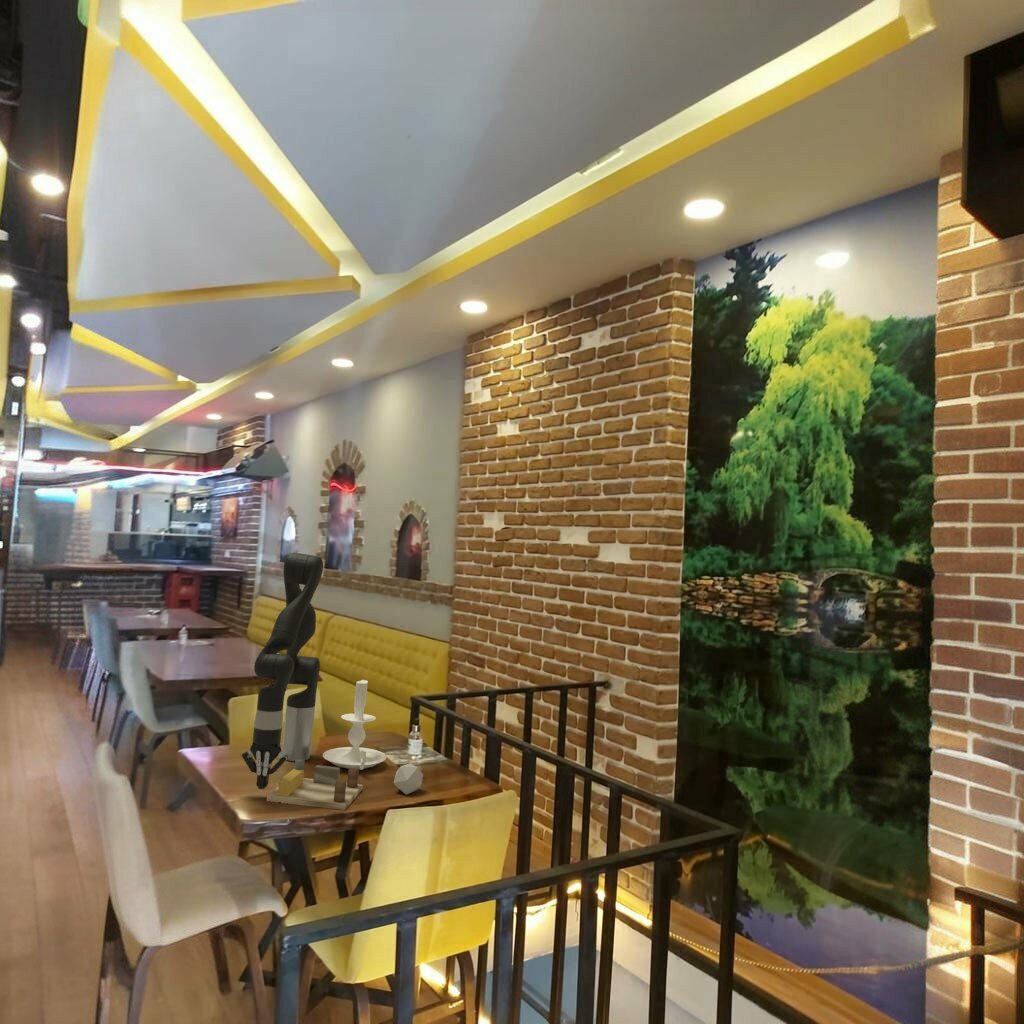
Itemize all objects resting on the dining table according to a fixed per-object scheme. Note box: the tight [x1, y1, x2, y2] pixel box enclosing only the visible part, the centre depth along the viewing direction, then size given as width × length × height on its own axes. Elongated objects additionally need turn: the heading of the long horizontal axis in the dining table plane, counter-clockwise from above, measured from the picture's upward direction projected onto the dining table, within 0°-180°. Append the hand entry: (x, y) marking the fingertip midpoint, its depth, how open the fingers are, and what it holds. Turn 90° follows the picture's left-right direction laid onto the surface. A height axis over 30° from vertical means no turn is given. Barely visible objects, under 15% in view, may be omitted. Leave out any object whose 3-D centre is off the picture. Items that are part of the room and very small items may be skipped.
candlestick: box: [322, 679, 387, 771], centre depth 246 cm, size 21×25×28 cm
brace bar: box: [277, 759, 306, 796], centre depth 215 cm, size 13×3×6 cm, turn 176°
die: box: [393, 762, 424, 796], centre depth 226 cm, size 8×9×10 cm
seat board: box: [266, 764, 364, 811], centre depth 216 cm, size 18×22×6 cm
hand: (261, 788), depth 210 cm, fingers closed
